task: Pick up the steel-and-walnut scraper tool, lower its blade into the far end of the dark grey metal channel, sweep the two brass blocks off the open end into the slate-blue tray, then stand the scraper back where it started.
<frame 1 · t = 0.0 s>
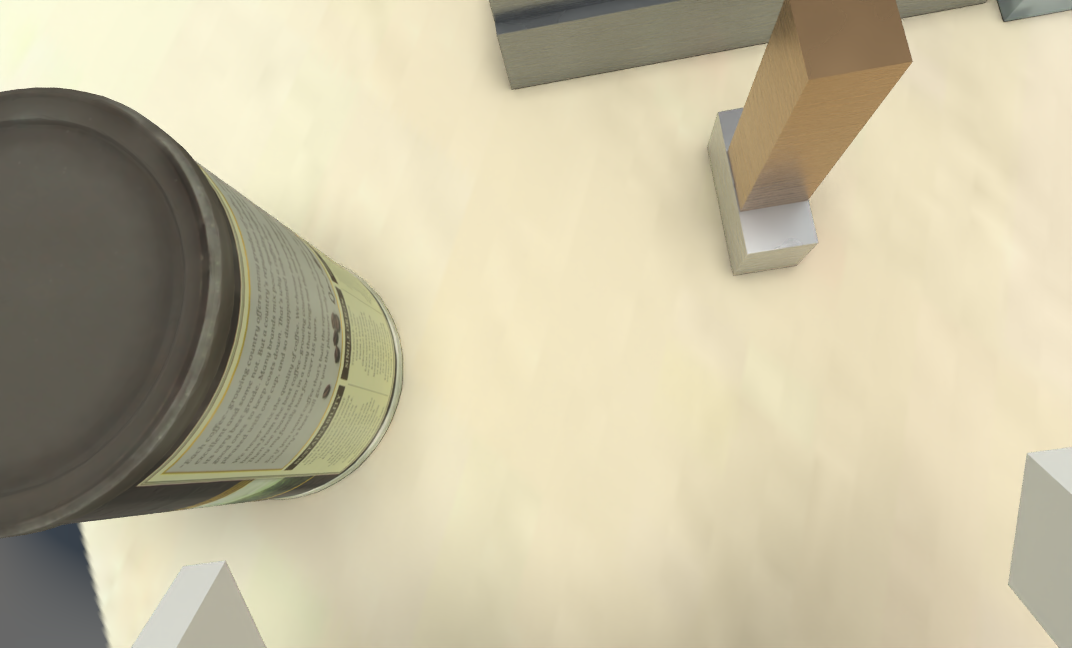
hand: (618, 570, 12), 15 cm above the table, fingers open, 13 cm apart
scraper: (750, 204, 28), on the table
coffee can: (289, 375, 29), on the table
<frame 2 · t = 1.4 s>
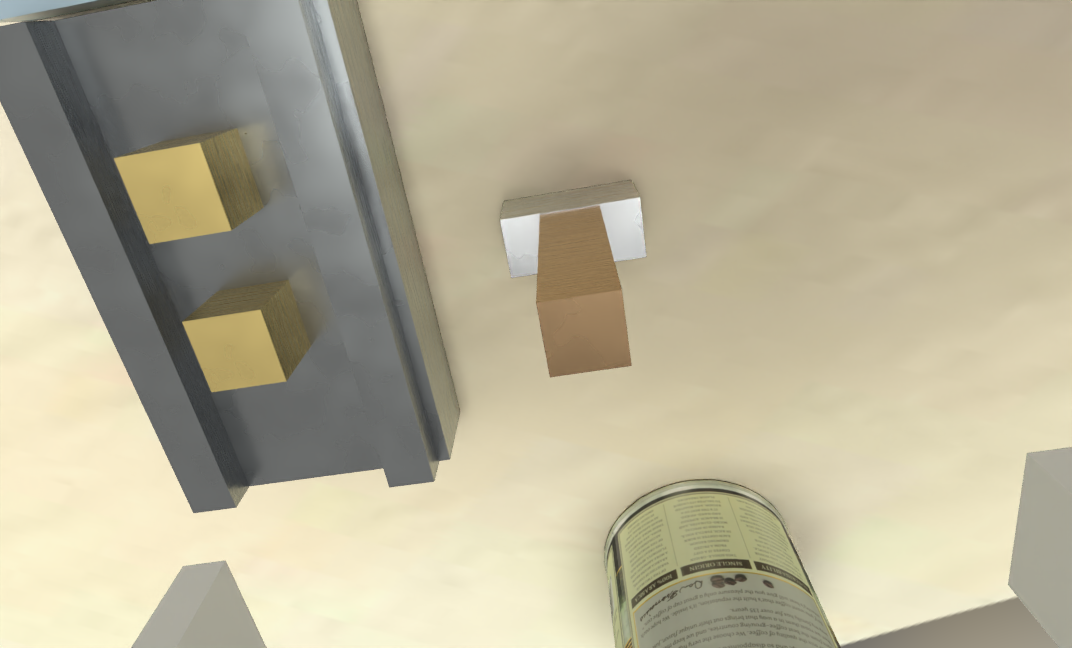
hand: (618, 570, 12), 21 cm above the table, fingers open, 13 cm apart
scraper: (571, 217, 31), on the table
slot bed: (283, 242, 31), on the table
coffee can: (695, 549, 39), on the table
chip a: (212, 175, 26), point 4 cm above the table, touching slot bed
chip b: (265, 319, 29), point 4 cm above the table, touching slot bed
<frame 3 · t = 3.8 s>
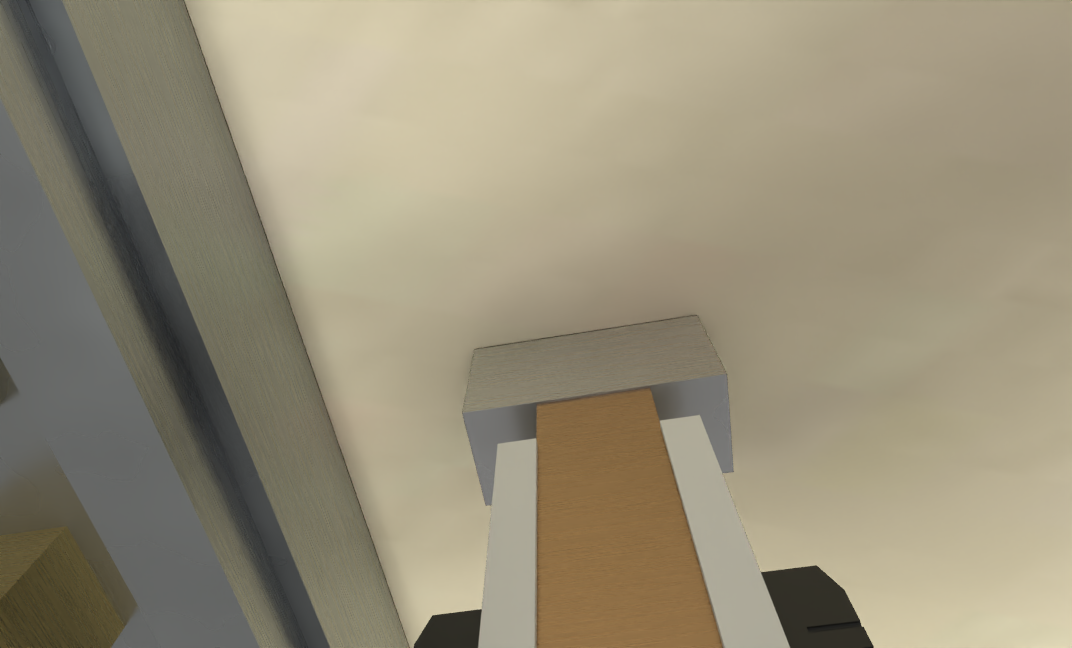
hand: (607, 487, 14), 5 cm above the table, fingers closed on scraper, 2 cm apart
scraper: (591, 376, 18), on the table, touching gripper
slot bed: (98, 416, 18), on the table
chip b: (34, 587, 16), point 4 cm above the table, touching slot bed
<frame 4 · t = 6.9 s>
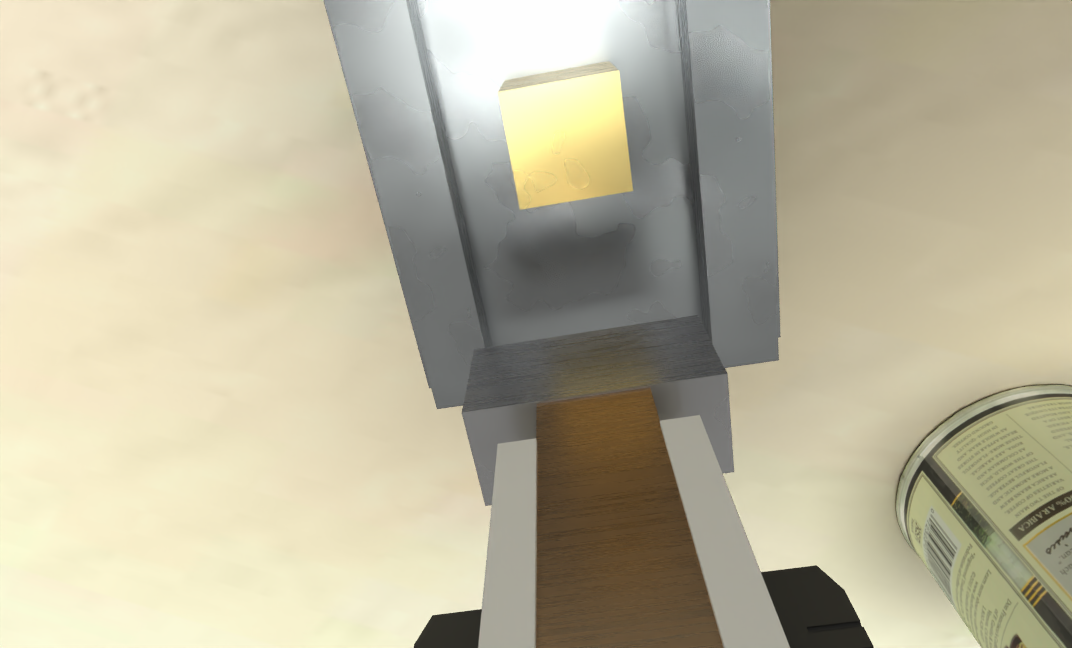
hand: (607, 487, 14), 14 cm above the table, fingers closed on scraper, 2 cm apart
scraper: (591, 375, 18), point 9 cm above the table, touching gripper
slot bed: (552, 44, 23), on the table
coffee can: (1012, 480, 31), on the table
chip b: (564, 124, 20), point 4 cm above the table, touching slot bed
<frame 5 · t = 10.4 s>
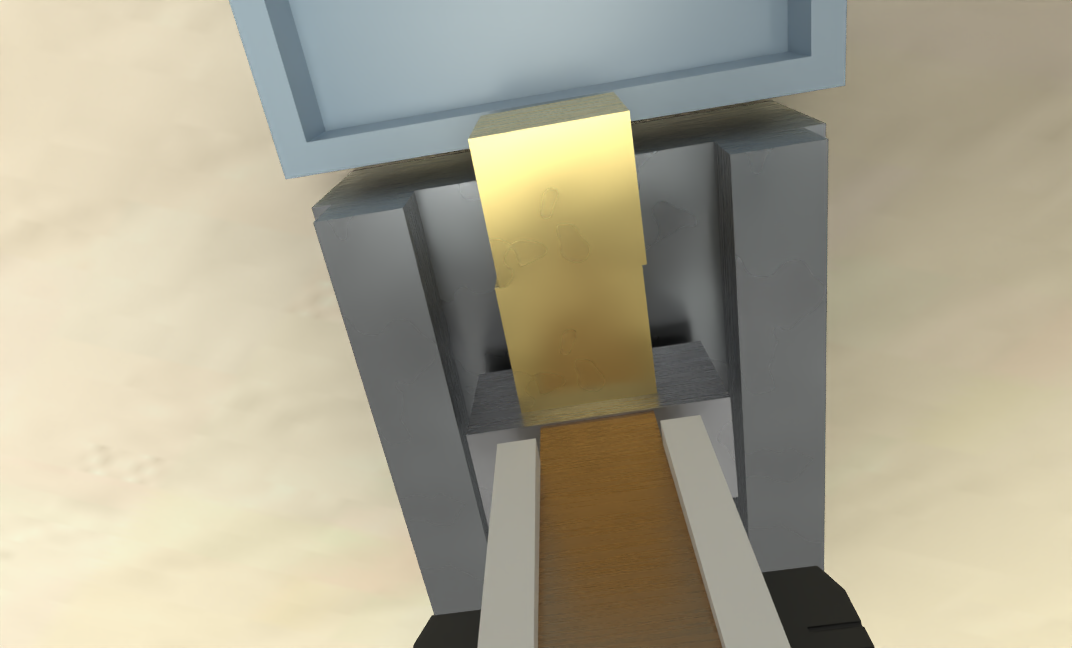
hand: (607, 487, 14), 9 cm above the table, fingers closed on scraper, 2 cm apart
scraper: (595, 401, 18), point 5 cm above the table, touching chip b, gripper
slot bed: (601, 430, 24), on the table
chip a: (557, 170, 16), point 4 cm above the table, touching chip b
chip b: (572, 289, 17), point 4 cm above the table, touching chip a, scraper
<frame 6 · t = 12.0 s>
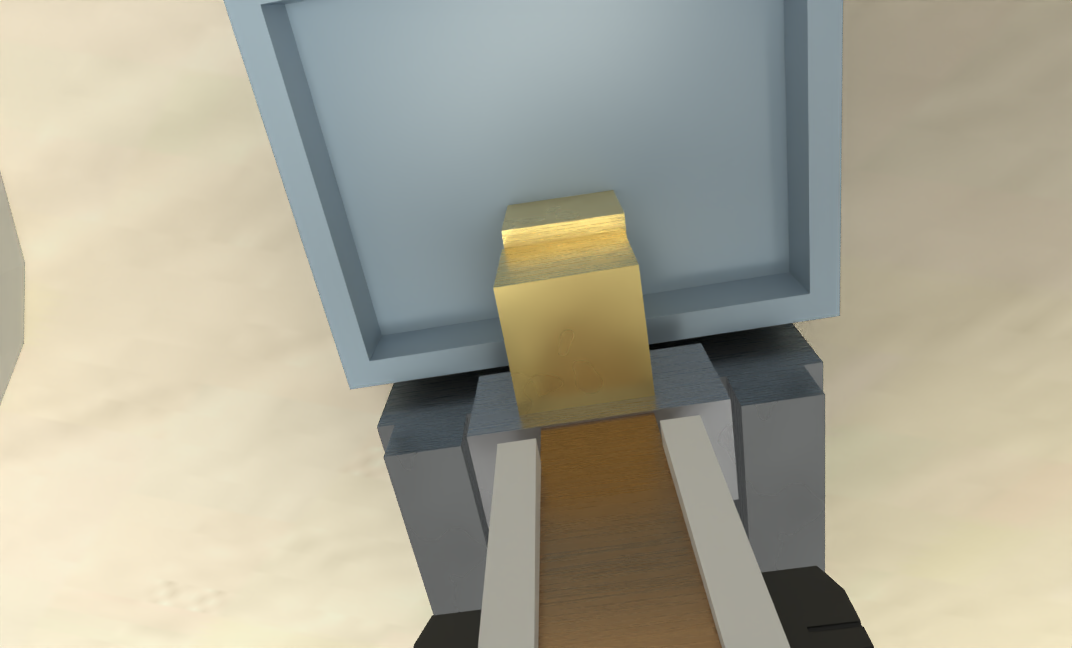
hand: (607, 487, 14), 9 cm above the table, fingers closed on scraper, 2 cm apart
scraper: (595, 403, 18), point 5 cm above the table, touching chip b, gripper
slot bed: (622, 567, 26), on the table
tray: (555, 143, 20), on the table
chip a: (575, 315, 19), point 2 cm above the table, tilted 93°, touching chip b, tray
chip b: (571, 296, 18), point 4 cm above the table, touching chip a, scraper
when the fingers open (6 cm above the table, at t = 18.0 s): scraper drops 1 cm, on the table.
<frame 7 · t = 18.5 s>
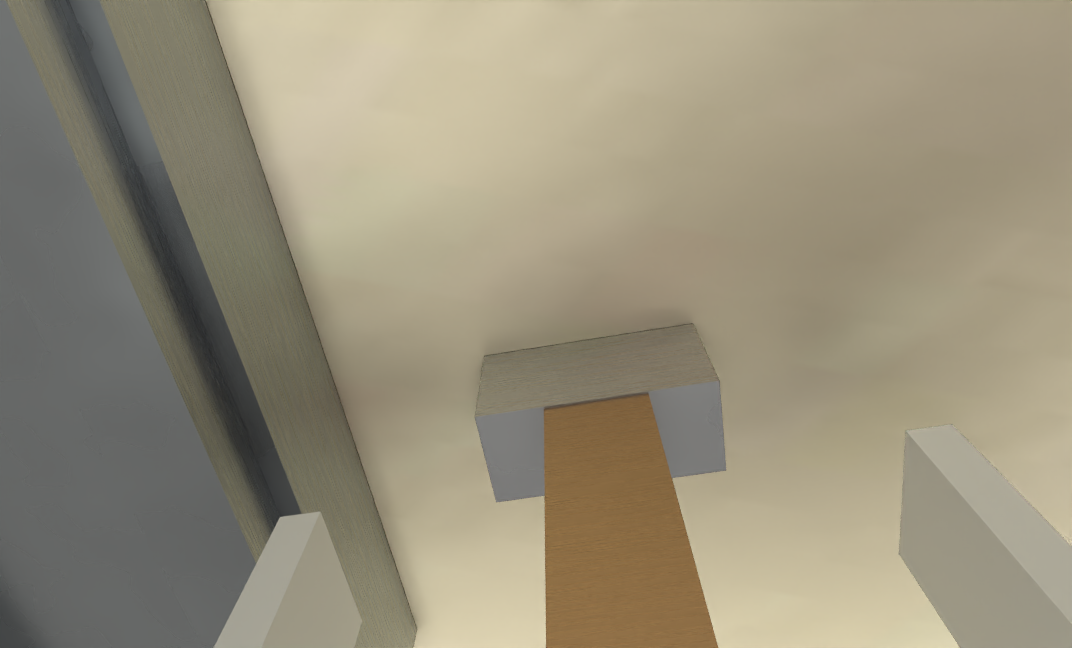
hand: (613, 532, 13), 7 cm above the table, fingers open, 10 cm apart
scraper: (593, 380, 19), on the table
slot bed: (119, 397, 19), on the table
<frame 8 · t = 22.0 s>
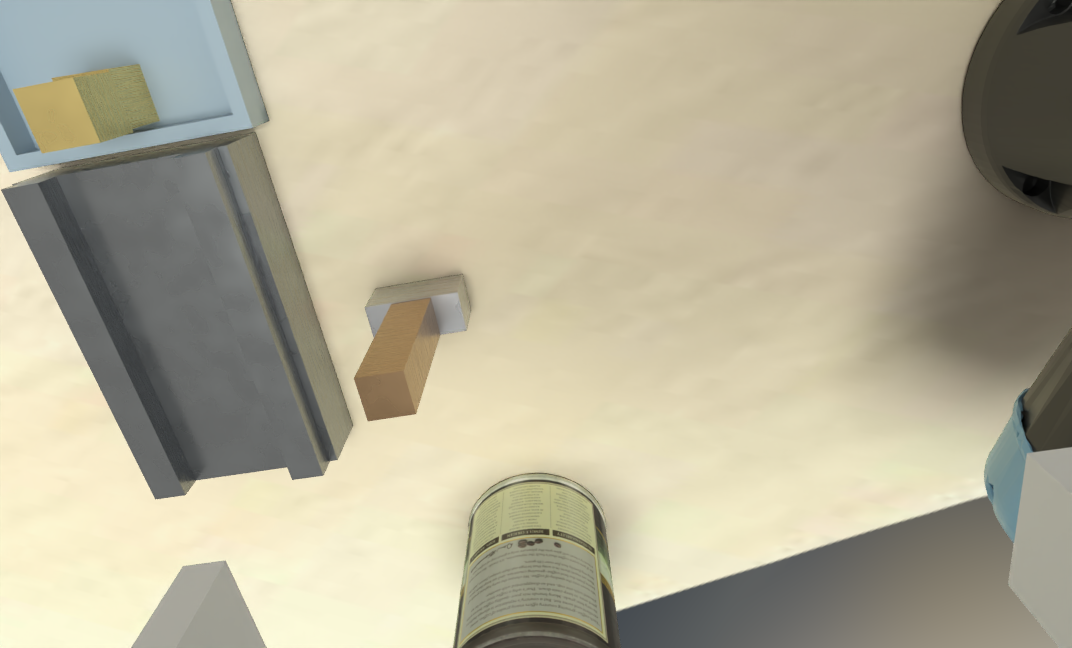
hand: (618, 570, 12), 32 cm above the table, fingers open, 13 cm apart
scraper: (423, 299, 44), on the table
slot bed: (218, 307, 44), on the table
coffee can: (537, 526, 52), on the table
tray: (112, 40, 38), on the table
chip a: (119, 129, 37), point 2 cm above the table, tilted 90°, touching chip b, tray
chip b: (93, 107, 36), point 4 cm above the table, touching chip a
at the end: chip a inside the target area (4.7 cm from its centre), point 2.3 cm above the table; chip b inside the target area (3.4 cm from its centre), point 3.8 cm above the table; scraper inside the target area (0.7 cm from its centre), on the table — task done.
